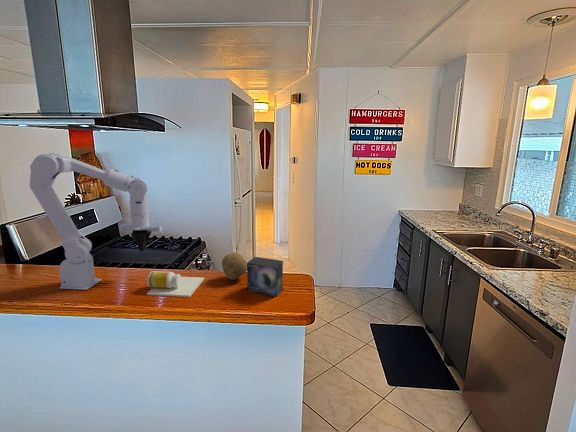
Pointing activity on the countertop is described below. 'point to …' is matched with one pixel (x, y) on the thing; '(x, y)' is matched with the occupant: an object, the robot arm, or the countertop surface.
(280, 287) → the small box
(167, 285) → the supplement bottle
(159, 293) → the mat
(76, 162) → the robot arm
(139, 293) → the countertop surface
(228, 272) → the natural sponge
